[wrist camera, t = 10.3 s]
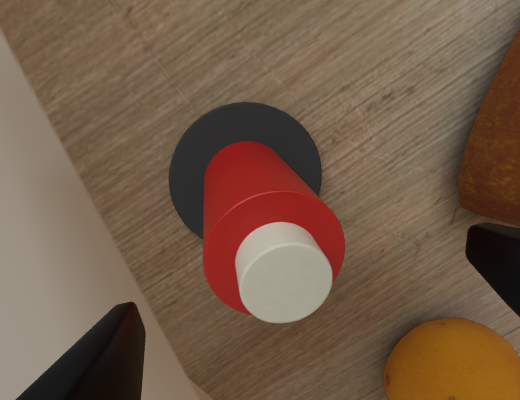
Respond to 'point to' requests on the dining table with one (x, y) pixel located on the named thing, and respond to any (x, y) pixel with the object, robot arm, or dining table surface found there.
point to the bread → (495, 147)
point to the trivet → (228, 132)
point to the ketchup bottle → (267, 236)
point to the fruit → (452, 364)
